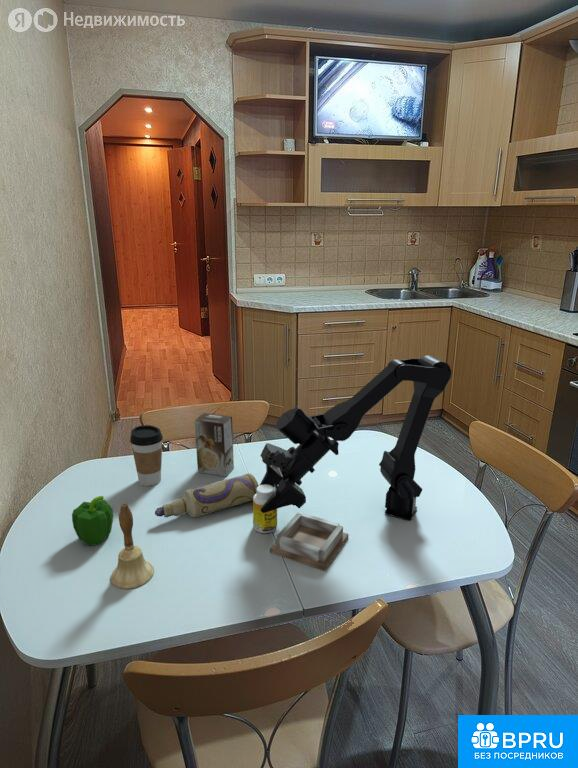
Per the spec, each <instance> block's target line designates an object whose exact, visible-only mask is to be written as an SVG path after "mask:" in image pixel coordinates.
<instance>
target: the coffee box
mask: <svg viewBox="0 0 578 768" xmlns="http://www.w3.org/2000/svg"><path fill="white" fill-rule="evenodd" d="M194 428H195V429H194V431H195V432H194V433H195V446H196V449H195V450H196V464H197V472H198V473H202V474H207V475H214V476H220V477H227V476H228V475H229V474H231V472H232V471H233V469H235V462H234V437H233V436H234V435H233V416H231V415H224V414H216V413H208V412H207V413H206V412H203V413H202V414H200V415H199V416H198V417H197V418H196V419H195V420H194Z"/></svg>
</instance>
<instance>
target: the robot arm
mask: <svg viewBox="0 0 578 768" xmlns="http://www.w3.org/2000/svg"><path fill="white" fill-rule="evenodd" d="M452 375H453V370H452V369H451V366H450V364H448V363H447V362H446V361H443V360H441V359H440V358H437V357H436V356H433V355H424V356H422V357H420V358H419V357H418V358H417V357H416V358H415V357H414V358H413V357H410V358H404V359H397V358H396V359H392V360H390V361H389V362H388V363H387V366H385V368H383V369H382V370H381V371H380V372H379V373H378V374H377V375H376V376H374V377H373V378H371V380H370V381H369V382H368V383H366V384H365V385H364V386H363V387H362V388H361V389H360V390H359V391H357V393H356V394H354V395H353V396H352V397H350V398H349V399H348V400H345V401H343V402H340V403H337V404H336V405H334V406H333V407H331V408H330V409H328V410H327V411H325V413H320V414H316V415H307V414H306V413H305V412H304V411H303V409H302V408H301V407H300V406H299V405H296V406H295V407H294V408H291V409H289V410H286V411H285V412H283V413H282V414H281V416H279V418H278V419H277V420H276V424H275V428H276V429H277V430H278V431H279V432H280V433H281V434H282V435H284V436H285V437H286V438H287V439H288V440H289V441H290V442H292V443H293V444H294V445H297V447H296V448H295V446H290V447H289V448H288V449H284V448H282V447H279V446H277V445H274V444H271V443H269V442H268V443H267V442H266V443H265V445H264V446H263V449H262V451H261V453H260V457H261V462H262V463H264V464H265V467H266V469H265V470H266V471H265V474H264V476H263V478H262V480H261V482H260V484H258V485H259V486H260V485H264V484H267V485H271V486H273V488H274V493H273V494H272V495H271V497H270V498H269V499H268V500H267V501H266V503H265V504H264V505H263V507H262V508H261V512H263V513H266V512H269V511H272V510H275V509H277V510H278V509H281V508H284V507H287V506H296V508H298V509H301V508H302V507H303V506H304V505H305V504H306V502H307V496H306V494H305V492H304V489H302V488H301V487H300V486H301V485H302V484H303V482H302V480H301V479H303V478H304V477H305V476H306V475H307V474H308V472H310V473H311V474H313V473H314V472H315V471H316V469H315V468H314V466H316V465H317V464H318V463H319V462H320V460H322V459H323V458H324V457H325V456H326V455H327V454H328V452H329V451H331V452H332V453H333V454H334V455H335V456H338V455H339V454H340V453H339V445H340V443H339V442H345V441H346V440H348V439H349V438H350V437H352V435H353V433H355V431H356V430H357V429H358V427H359V426H360V424H361V421H362V420H363V418H364V417H365V415H366V414H367V413H368V412H369V411H371V410H372V408H375V406H376V405H377V404H378V403H380V402H381V401H382V400H383V399H384V398H385V397H387V396H388V394H390V392H392V391H394V390H395V388H396V387H398V386H399V385H400V384H401V383H402V382H404V381H409V382H412V383H413V394H412V397H411V400H410V403H409V406H408V409H407V412H406V415H405V417H404V421H403V423H402V426H401V429H400V432H399V434H398V437H397V441H396V443H395V446H394V447H393V448H392V449H391V450H389V451H388V450H383V453H382V459H381V461H380V462H379V464H378V466H380V468H379V469H380V470H379V471H380V474H381V475H382V477H383V478H384V479H385V480H386V482H387V483H388V484H389V485H390V486H389V488H388V490H386V493H385V503H384V504H385V505H384V507H385V508H386V509H385V511H384V514H385V515H389V516H391V517H395V518H400V519H402V520H407V521H411V520H412V519H413V517H414V515H415V514H416V512H417V509H418V507H417V504H416V503H417V502H416V501H417V498H420V497H421V494H422V492H423V488H422V486H421V485H419V483H417V482H416V481H415V480H414V478H415V475H416V459H415V456H416V452H417V449H418V446H419V443H420V441H421V438H422V435H423V431H424V429H425V426H426V424H427V421H428V419H429V415H430V413H431V410H432V407H433V403H434V401H435V399H436V398H437V397H439V396H440V395H441V394H442V393H443V392H444V391H445V389H446V387H447V385H448V384H449V382H450V380H451V379H452ZM256 492H257V491H256ZM256 492H255V494H256Z"/></svg>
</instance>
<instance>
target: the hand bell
mask: <svg viewBox="0 0 578 768" xmlns="http://www.w3.org/2000/svg"><path fill="white" fill-rule="evenodd" d="M118 523H119V524H118V525H119V527H120V530H121V532H122V535H123V546H124V547H123V548H122V549H121V550H120V551H118V556H117V557H118V558H117V566H116V567H115V569H114V570H113V571H112V573H111V575H110V582H111V584H112V585H113V586H115V587H116V588H118V589H124V590H129V589H135V588H138V587H141V586H143V585H145V584H146V583H148V582H149V581H150V580H151V579H152V577H153V576H154V573H155V570H154V566H153V565H152V563H150V561H147V560H146V559H145V557H144V555H143V551H142V549H141V547H139V546H137V545H134V540H133V527H134V517H133V513H132V511H131V509H130V507H129V505H128V503H127V502H125V503H122V504H121V505H120V507H119V512H118Z"/></svg>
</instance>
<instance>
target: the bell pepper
mask: <svg viewBox="0 0 578 768" xmlns="http://www.w3.org/2000/svg"><path fill="white" fill-rule="evenodd" d="M71 520H72V527H73V529H74V531H75V534H76V536H77V538H78V539H79V540H80V541H81V542H83V543H85V544H86V545H87V546H96V545H101V543H103V542H104V541H105V539H106V538H108V537H109V536H110V534H111V532H112V528H113V522H114V511H113V508H112V506H111V505H110V504H109V503H108V501H106V499H104V496H103V495H99V496H96V497H94V498H93V499H92V500H91V501H83V502H81V504H80V505H78V506H77V507H76V508H74V509H73V511H72V513H71Z"/></svg>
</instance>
